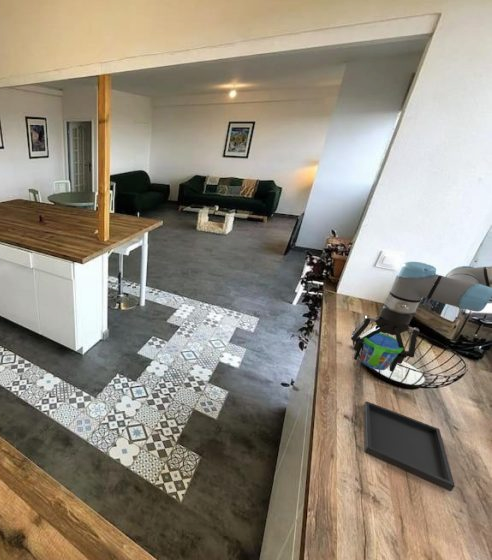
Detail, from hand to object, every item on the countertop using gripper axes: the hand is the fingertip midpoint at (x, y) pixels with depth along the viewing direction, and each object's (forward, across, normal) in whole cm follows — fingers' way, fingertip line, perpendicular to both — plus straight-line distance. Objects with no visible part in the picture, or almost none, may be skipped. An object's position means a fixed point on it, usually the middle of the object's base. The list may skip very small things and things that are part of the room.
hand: (372, 363), depth 109 cm
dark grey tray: (+4, +7, -30) cm, 31 cm away
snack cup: (0, 0, 0) cm, 0 cm away
